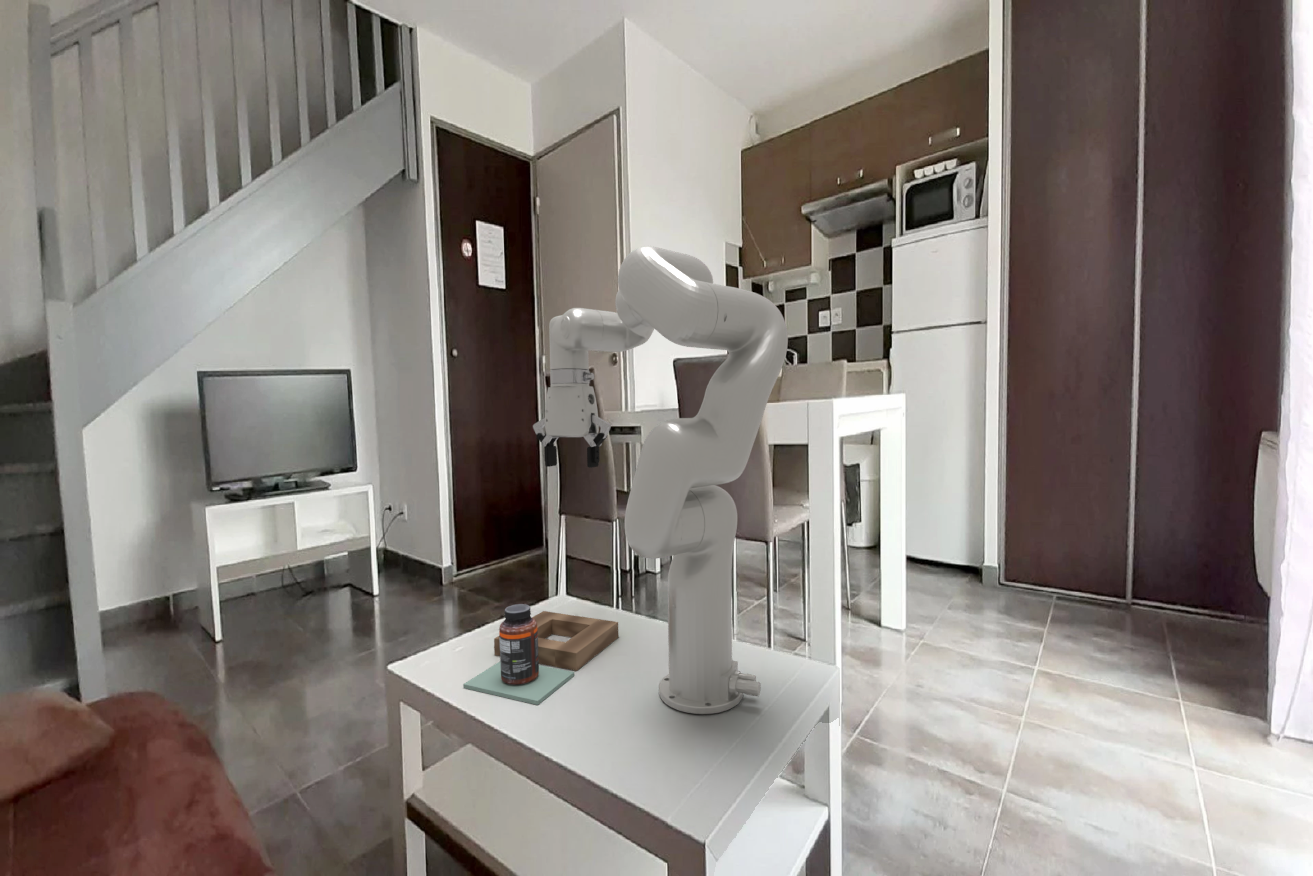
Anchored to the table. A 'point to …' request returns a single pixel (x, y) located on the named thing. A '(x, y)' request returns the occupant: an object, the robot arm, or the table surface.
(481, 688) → the sage green mat
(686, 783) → the table surface
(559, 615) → the walnut frame
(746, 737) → the table surface
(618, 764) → the table surface
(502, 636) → the supplement bottle
